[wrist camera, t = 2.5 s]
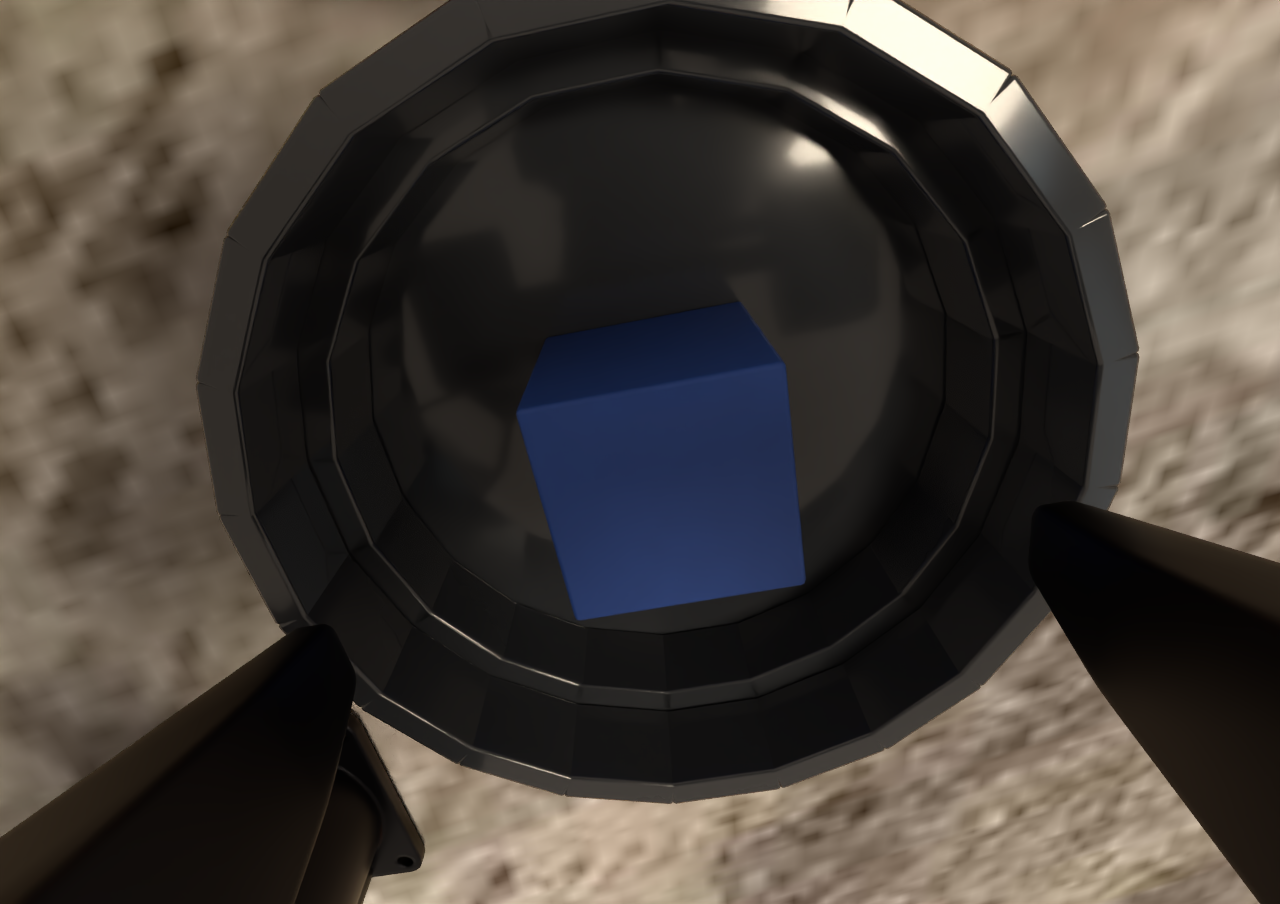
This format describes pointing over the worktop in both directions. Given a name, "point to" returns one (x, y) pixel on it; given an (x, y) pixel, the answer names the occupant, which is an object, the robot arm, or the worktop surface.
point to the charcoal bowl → (646, 288)
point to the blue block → (665, 461)
